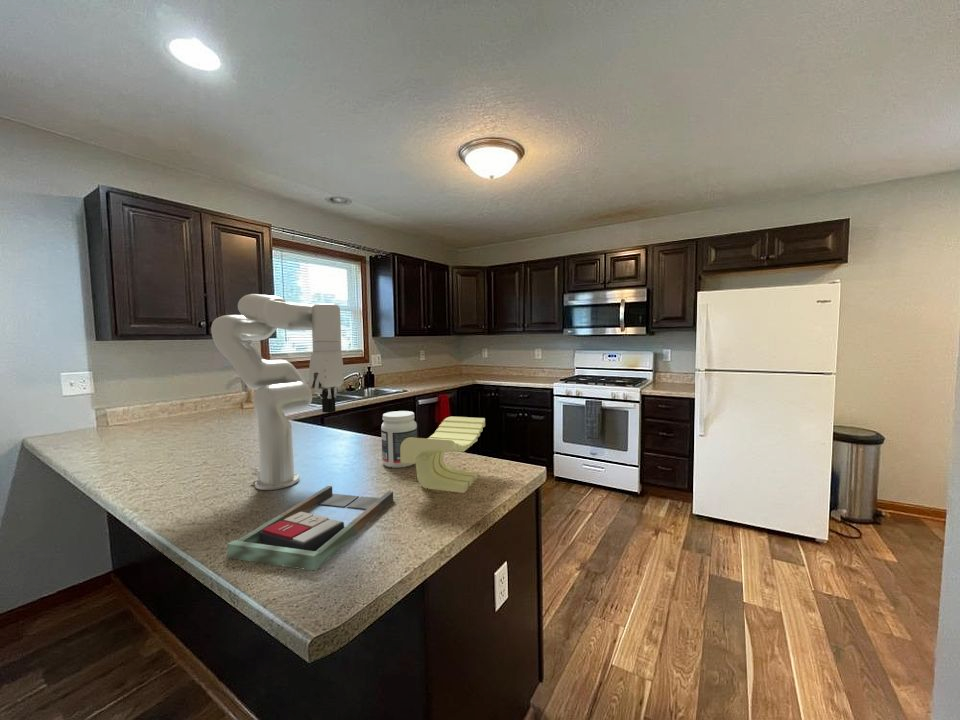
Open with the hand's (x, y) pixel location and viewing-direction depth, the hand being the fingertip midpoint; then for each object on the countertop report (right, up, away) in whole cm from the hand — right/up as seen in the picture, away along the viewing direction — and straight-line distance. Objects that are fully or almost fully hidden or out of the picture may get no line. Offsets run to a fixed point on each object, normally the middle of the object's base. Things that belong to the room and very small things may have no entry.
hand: (328, 411), depth 110 cm
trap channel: (+4, -26, -15) cm, 30 cm away
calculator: (+3, -27, -22) cm, 35 cm away
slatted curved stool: (+33, -24, +12) cm, 42 cm away
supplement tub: (+14, -23, +31) cm, 41 cm away
